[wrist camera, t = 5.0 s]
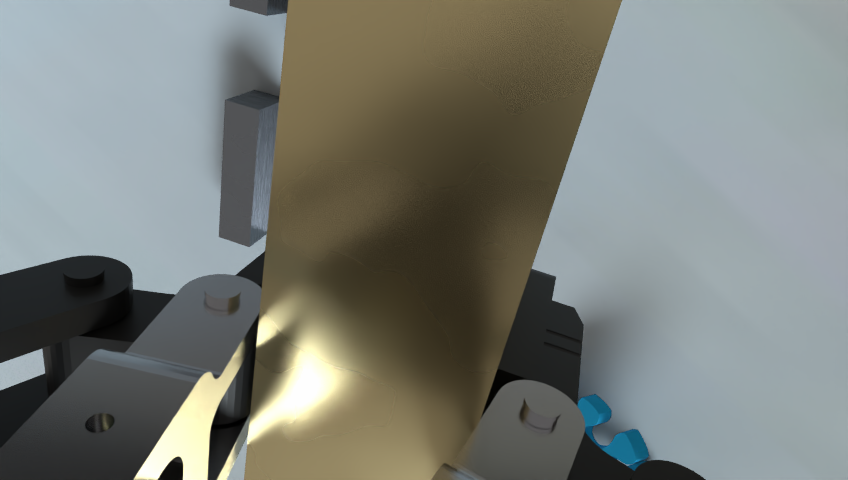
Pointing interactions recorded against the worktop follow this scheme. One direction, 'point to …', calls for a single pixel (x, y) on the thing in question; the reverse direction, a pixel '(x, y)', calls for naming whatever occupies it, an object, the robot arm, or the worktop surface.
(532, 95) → the link bar
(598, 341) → the worktop surface
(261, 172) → the grey u-channel block
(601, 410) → the gear
